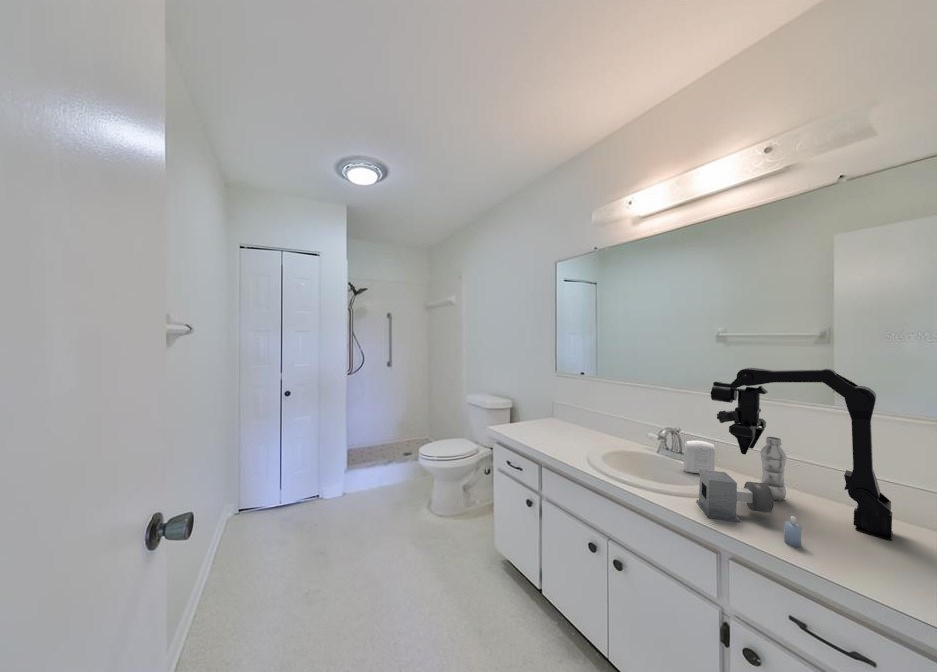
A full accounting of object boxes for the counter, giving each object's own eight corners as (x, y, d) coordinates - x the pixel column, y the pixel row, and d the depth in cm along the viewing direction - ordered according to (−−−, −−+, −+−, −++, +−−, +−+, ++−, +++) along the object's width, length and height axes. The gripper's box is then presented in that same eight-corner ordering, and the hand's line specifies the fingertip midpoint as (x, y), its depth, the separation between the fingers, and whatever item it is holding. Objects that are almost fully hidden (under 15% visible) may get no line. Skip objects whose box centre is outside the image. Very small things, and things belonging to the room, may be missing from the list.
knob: (759, 504, 107) (759, 478, 107) (773, 518, 100) (774, 490, 100) (710, 498, 111) (710, 473, 111) (720, 511, 103) (720, 484, 103)
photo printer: (712, 471, 137) (712, 440, 137) (716, 476, 133) (716, 444, 133) (682, 468, 140) (682, 438, 140) (685, 472, 136) (685, 441, 136)
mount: (725, 505, 111) (725, 471, 111) (739, 522, 101) (740, 484, 101) (696, 502, 113) (696, 468, 113) (708, 517, 103) (708, 481, 103)
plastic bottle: (791, 504, 112) (792, 442, 112) (767, 502, 113) (768, 440, 113) (777, 494, 118) (779, 436, 118) (755, 492, 120) (756, 434, 119)
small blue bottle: (802, 544, 91) (802, 517, 91) (799, 549, 89) (800, 521, 89) (785, 538, 93) (786, 512, 93) (783, 543, 91) (783, 516, 91)
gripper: (728, 398, 130) (727, 439, 131) (711, 404, 118) (710, 450, 119) (766, 403, 122) (765, 447, 122) (752, 410, 110) (751, 460, 110)
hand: (747, 451), depth 118 cm, fingers open, 9 cm apart
